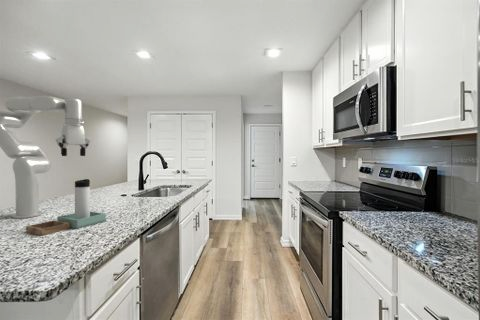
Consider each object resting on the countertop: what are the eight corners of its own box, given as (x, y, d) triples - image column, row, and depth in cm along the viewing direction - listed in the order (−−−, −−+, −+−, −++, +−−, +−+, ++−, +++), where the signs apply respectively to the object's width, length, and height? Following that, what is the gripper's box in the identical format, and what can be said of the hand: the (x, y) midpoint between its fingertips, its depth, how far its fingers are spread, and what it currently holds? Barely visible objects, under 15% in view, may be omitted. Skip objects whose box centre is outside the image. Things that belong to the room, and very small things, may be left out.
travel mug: (93, 219, 129) (93, 179, 129) (84, 223, 123) (83, 180, 122) (81, 219, 130) (81, 179, 130) (71, 222, 123) (71, 180, 123)
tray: (57, 225, 122) (57, 216, 122) (86, 218, 135) (86, 210, 135) (77, 229, 116) (77, 220, 116) (105, 221, 130) (105, 213, 129)
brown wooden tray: (26, 232, 111) (26, 226, 111) (54, 225, 121) (53, 220, 121) (41, 235, 107) (41, 229, 107) (69, 228, 117) (69, 223, 117)
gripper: (84, 125, 145) (84, 155, 145) (51, 121, 129) (51, 155, 129) (93, 124, 142) (94, 156, 142) (60, 120, 126) (61, 156, 126)
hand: (73, 155), depth 136 cm, fingers open, 9 cm apart
